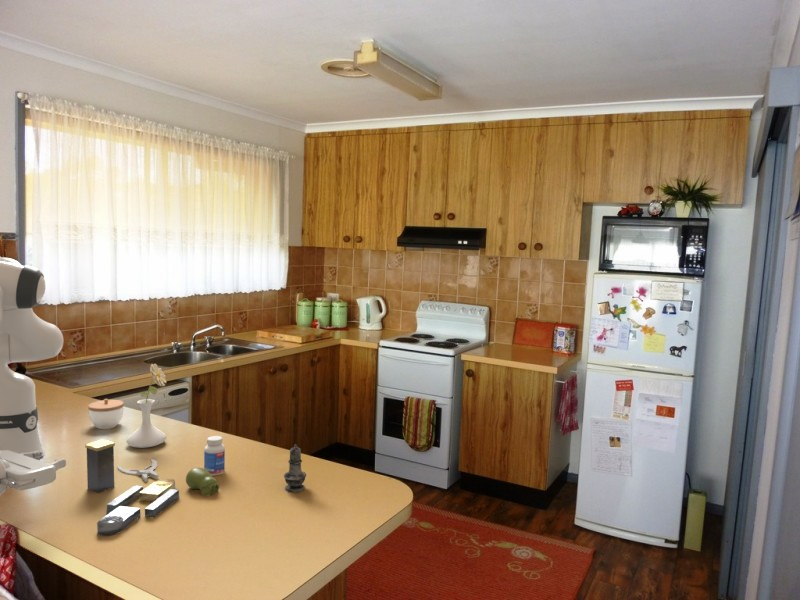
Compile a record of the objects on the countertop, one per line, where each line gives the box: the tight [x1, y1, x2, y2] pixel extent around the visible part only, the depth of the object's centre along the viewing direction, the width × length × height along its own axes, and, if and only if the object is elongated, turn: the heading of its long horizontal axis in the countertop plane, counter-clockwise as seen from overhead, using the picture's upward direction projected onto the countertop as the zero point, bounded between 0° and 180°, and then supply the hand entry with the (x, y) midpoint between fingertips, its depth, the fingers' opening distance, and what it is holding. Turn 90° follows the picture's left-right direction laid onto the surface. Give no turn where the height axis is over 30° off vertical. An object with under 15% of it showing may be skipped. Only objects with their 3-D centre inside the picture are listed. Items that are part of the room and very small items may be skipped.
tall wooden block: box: [84, 438, 116, 494], centre depth 150 cm, size 5×5×12 cm
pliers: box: [116, 458, 159, 483], centre depth 161 cm, size 10×2×15 cm
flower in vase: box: [126, 363, 167, 449], centre depth 181 cm, size 13×11×25 cm
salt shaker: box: [283, 443, 307, 494], centre depth 153 cm, size 6×6×12 cm
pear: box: [185, 467, 220, 497], centre depth 151 cm, size 6×5×10 cm
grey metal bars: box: [96, 485, 180, 537], centre depth 137 cm, size 21×12×2 cm, turn 171°
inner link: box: [138, 477, 176, 503], centre depth 148 cm, size 10×5×2 cm, turn 171°
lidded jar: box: [87, 398, 125, 430], centre depth 198 cm, size 11×11×9 cm
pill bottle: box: [203, 435, 226, 477], centre depth 162 cm, size 6×5×10 cm
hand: (52, 458), depth 138 cm, fingers open, 8 cm apart
